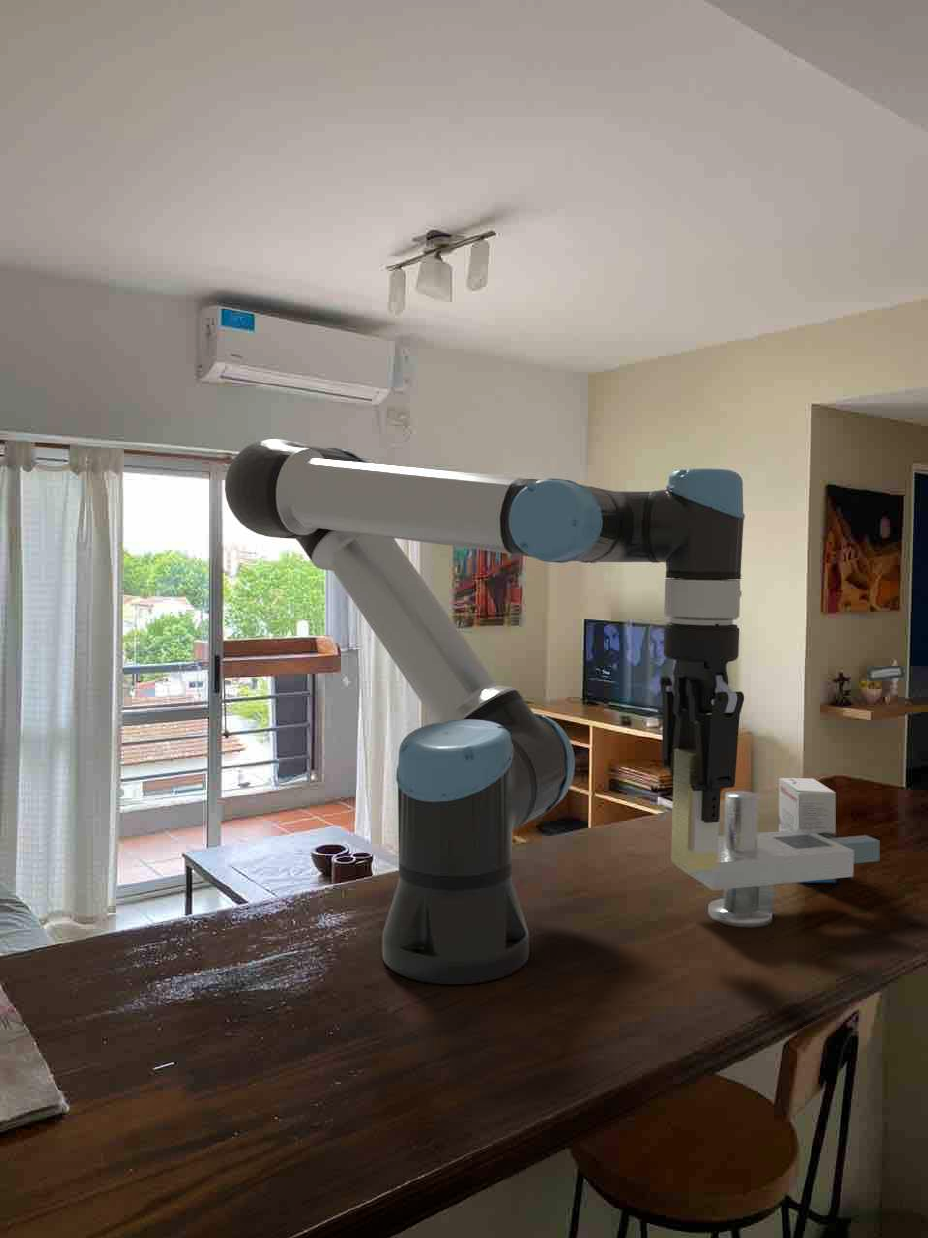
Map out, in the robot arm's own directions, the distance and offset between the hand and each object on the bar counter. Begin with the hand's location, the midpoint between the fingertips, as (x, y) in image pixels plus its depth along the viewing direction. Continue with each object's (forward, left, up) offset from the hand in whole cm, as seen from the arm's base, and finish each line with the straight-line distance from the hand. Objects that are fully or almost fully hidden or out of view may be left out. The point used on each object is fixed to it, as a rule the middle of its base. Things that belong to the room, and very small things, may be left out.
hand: (694, 844), depth 98 cm
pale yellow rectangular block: (0, 0, -2) cm, 2 cm away
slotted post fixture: (+15, +7, -11) cm, 20 cm away
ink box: (+26, +18, -11) cm, 33 cm away
